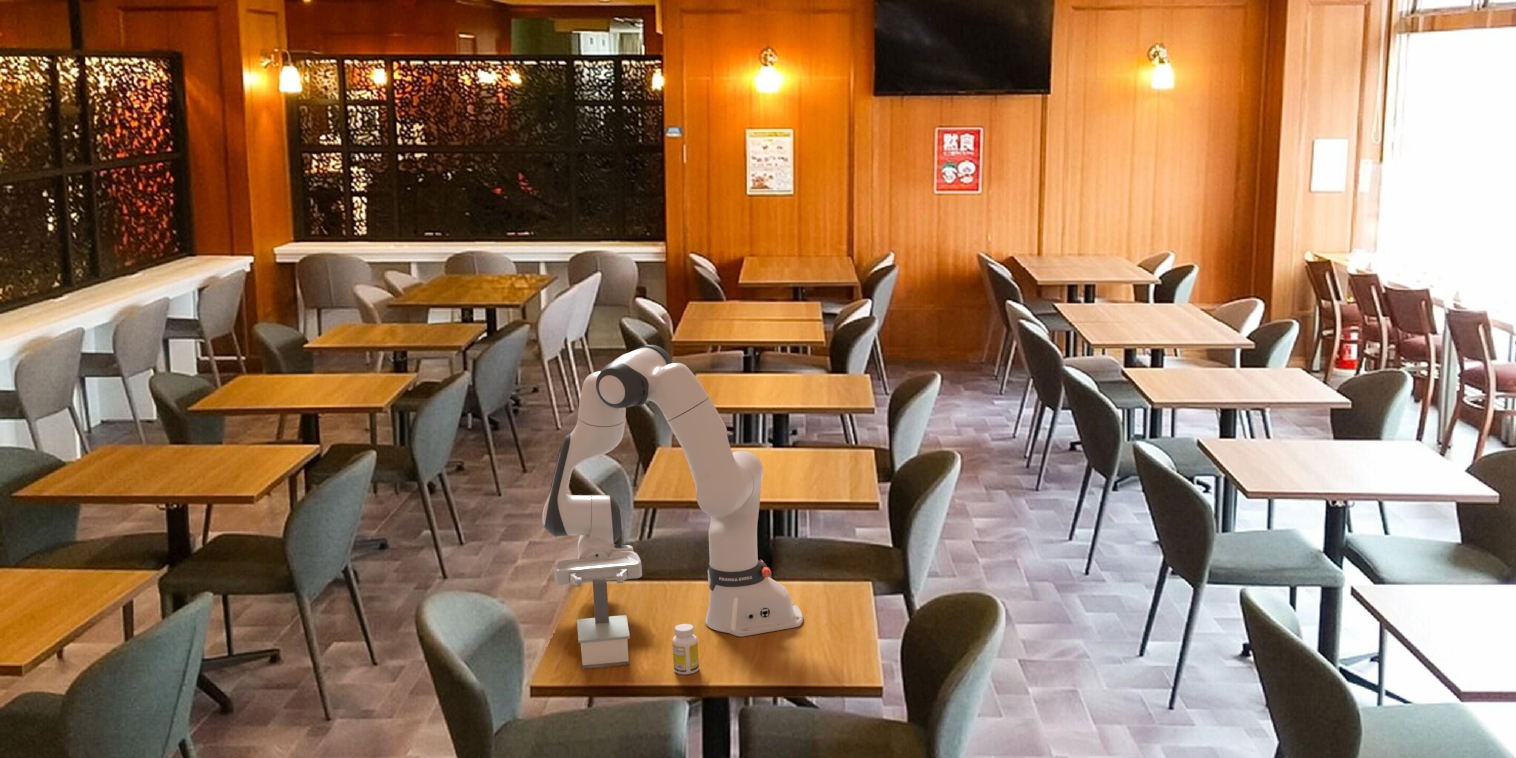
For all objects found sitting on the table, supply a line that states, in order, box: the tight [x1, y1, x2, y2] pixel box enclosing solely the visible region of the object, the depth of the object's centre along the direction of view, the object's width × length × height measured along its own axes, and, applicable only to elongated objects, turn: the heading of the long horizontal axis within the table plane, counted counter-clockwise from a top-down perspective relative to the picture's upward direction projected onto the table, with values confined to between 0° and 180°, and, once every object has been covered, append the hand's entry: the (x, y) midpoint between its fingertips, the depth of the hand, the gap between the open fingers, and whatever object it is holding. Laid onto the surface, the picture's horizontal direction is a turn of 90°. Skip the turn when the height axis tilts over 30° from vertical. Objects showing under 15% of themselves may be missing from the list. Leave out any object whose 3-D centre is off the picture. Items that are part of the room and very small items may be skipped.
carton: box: [580, 639, 630, 670], centre depth 315 cm, size 11×10×6 cm
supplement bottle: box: [671, 623, 700, 676], centre depth 307 cm, size 5×5×10 cm
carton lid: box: [576, 579, 631, 644], centre depth 314 cm, size 12×11×10 cm
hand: (599, 581), depth 326 cm, fingers open, 8 cm apart
